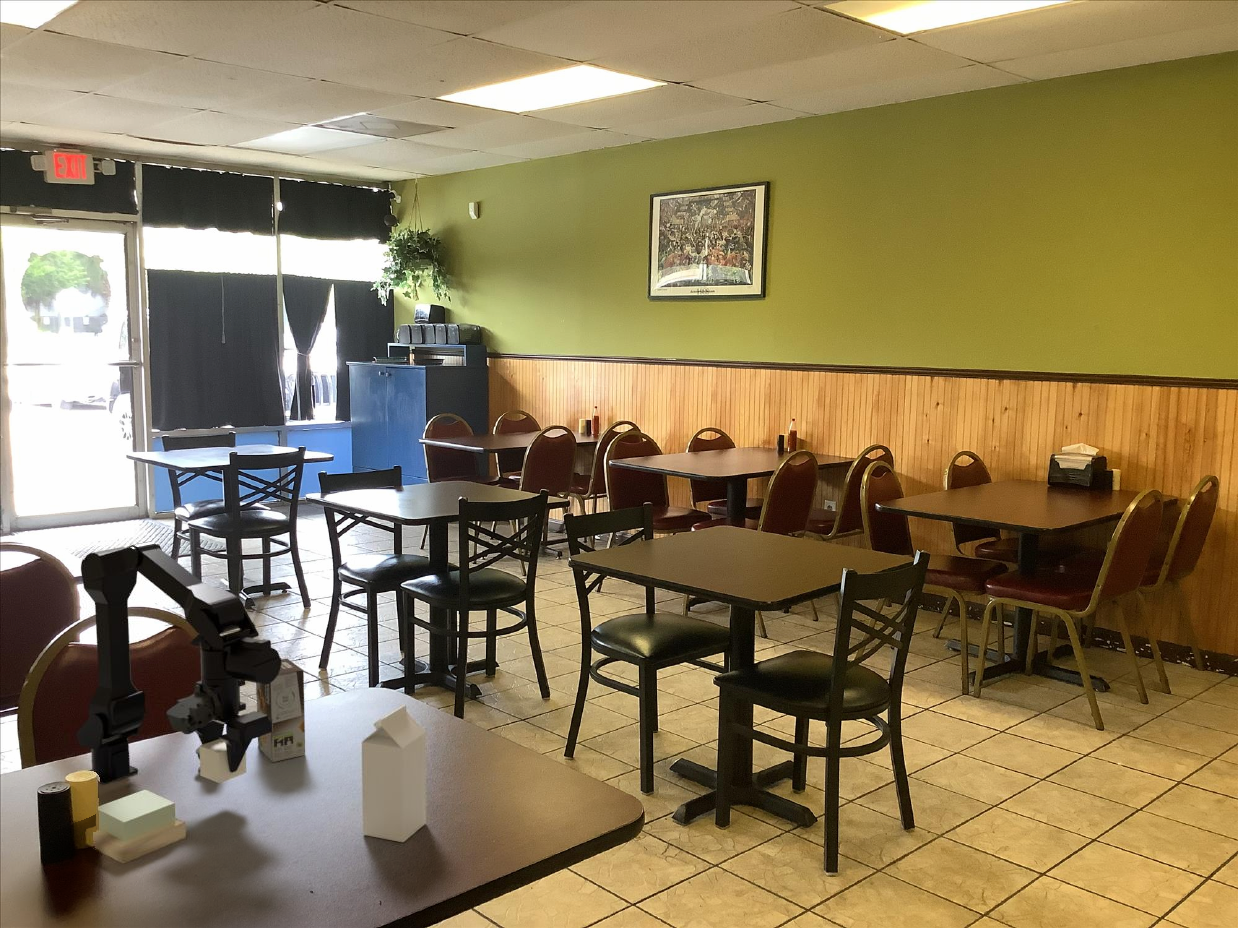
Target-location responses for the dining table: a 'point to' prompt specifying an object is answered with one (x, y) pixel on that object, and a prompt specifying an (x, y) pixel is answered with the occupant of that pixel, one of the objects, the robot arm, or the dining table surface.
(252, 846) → the dining table surface
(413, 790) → the milk carton
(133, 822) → the sage slab
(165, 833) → the maple slab
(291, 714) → the coffee box
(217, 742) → the cream block
